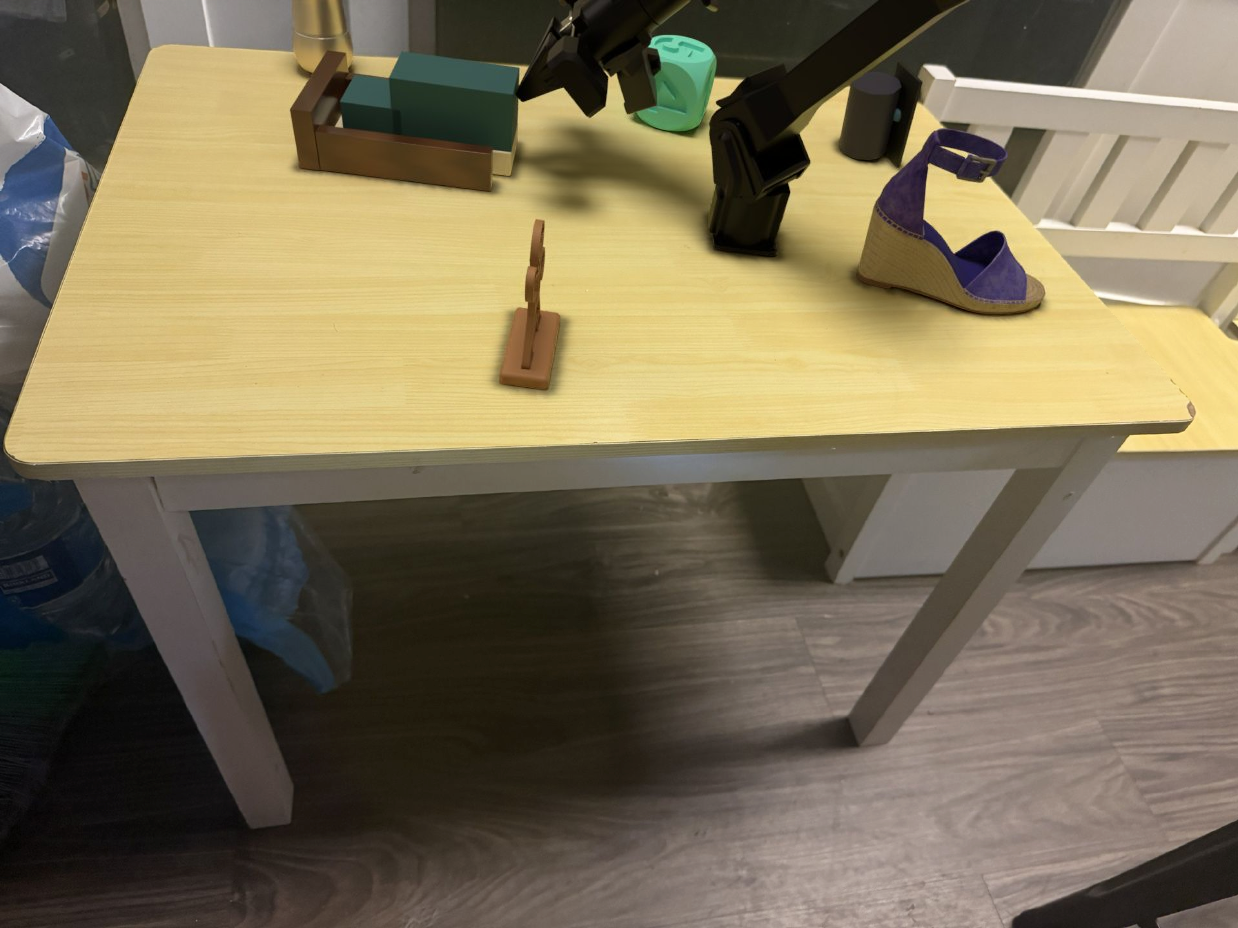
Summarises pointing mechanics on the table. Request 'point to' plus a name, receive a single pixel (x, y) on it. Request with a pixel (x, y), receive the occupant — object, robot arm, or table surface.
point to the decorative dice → (681, 83)
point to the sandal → (919, 253)
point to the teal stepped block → (440, 103)
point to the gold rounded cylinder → (319, 31)
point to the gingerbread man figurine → (531, 328)
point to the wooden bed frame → (376, 140)
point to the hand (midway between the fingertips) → (519, 97)
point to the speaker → (880, 114)
